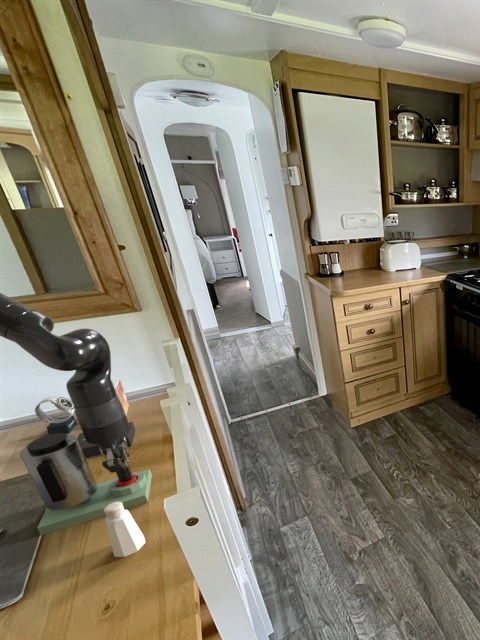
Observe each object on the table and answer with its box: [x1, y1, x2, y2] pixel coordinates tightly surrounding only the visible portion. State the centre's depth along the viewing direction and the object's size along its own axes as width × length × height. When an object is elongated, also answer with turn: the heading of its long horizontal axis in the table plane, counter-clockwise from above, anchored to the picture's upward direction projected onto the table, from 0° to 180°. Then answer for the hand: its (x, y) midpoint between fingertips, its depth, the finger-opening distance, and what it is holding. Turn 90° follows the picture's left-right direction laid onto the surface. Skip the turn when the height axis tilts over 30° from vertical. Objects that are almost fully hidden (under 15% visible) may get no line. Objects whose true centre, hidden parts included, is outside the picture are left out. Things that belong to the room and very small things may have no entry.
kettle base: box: [36, 468, 153, 536], centre depth 88 cm, size 18×11×4 cm, turn 124°
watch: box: [34, 396, 78, 435], centre depth 114 cm, size 6×8×11 cm
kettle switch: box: [117, 474, 137, 487], centre depth 91 cm, size 4×4×2 cm
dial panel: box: [76, 421, 136, 459], centre depth 109 cm, size 12×10×3 cm
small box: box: [111, 379, 130, 417], centre depth 123 cm, size 8×6×10 cm
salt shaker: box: [104, 502, 147, 558], centre depth 76 cm, size 5×5×11 cm
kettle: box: [19, 433, 98, 510], centre depth 82 cm, size 8×10×15 cm
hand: (126, 479), depth 90 cm, fingers closed
